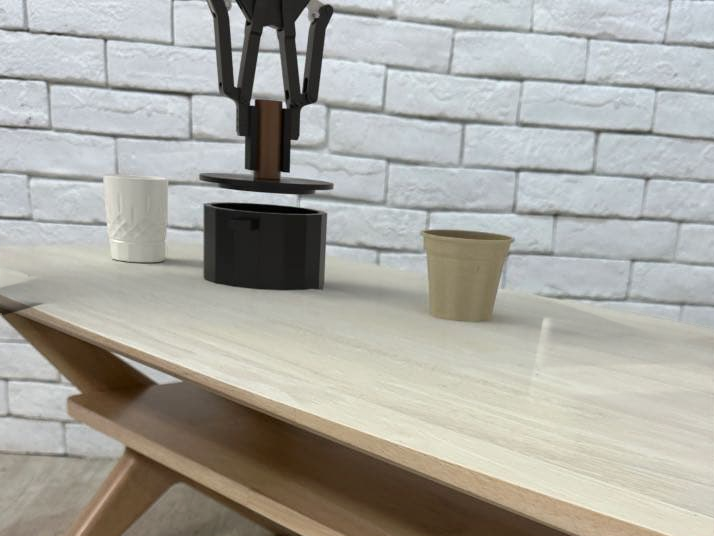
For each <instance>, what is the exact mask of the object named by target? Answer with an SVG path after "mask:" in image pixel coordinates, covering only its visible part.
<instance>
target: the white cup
mask: <svg viewBox="0 0 714 536" xmlns="http://www.w3.org/2000/svg"><path fill="white" fill-rule="evenodd" d="M102 182H103V195H104V196H103V197H104V209H105V220H106V229H107V236H108V238H109V240H108V242H109V243H108V244H109V255H110V256H109V257H110V258H111V260H116V261H122V262H130V263H141V264H142V263H160V262H164V261H165V260H166V241H165V240H166V239H167V233H168V232H167V231H168V229H167V226H168V209H169V204H168V203H169V178H167V177H160V176H154V175H153V176H152V175H142V174H141V175H140V174H126V173H103V174H102Z"/></svg>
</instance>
